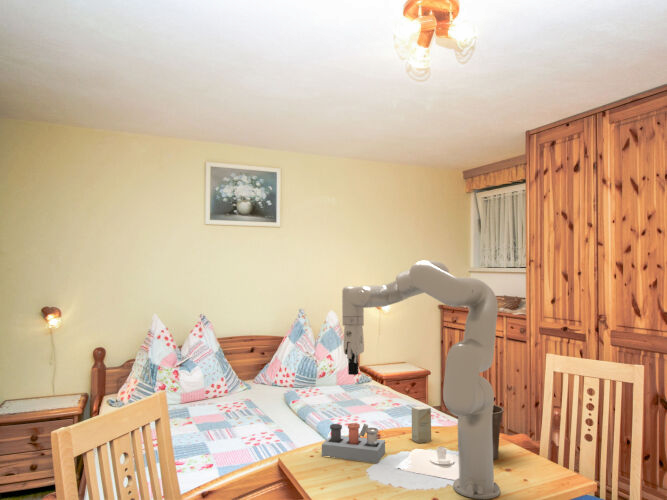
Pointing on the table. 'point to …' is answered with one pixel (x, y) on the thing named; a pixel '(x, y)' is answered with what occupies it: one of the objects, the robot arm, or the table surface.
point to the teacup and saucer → (434, 463)
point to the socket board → (354, 450)
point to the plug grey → (372, 436)
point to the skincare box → (421, 424)
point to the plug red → (354, 433)
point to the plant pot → (496, 428)
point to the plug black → (336, 433)
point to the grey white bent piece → (363, 430)
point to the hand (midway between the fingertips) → (353, 374)
